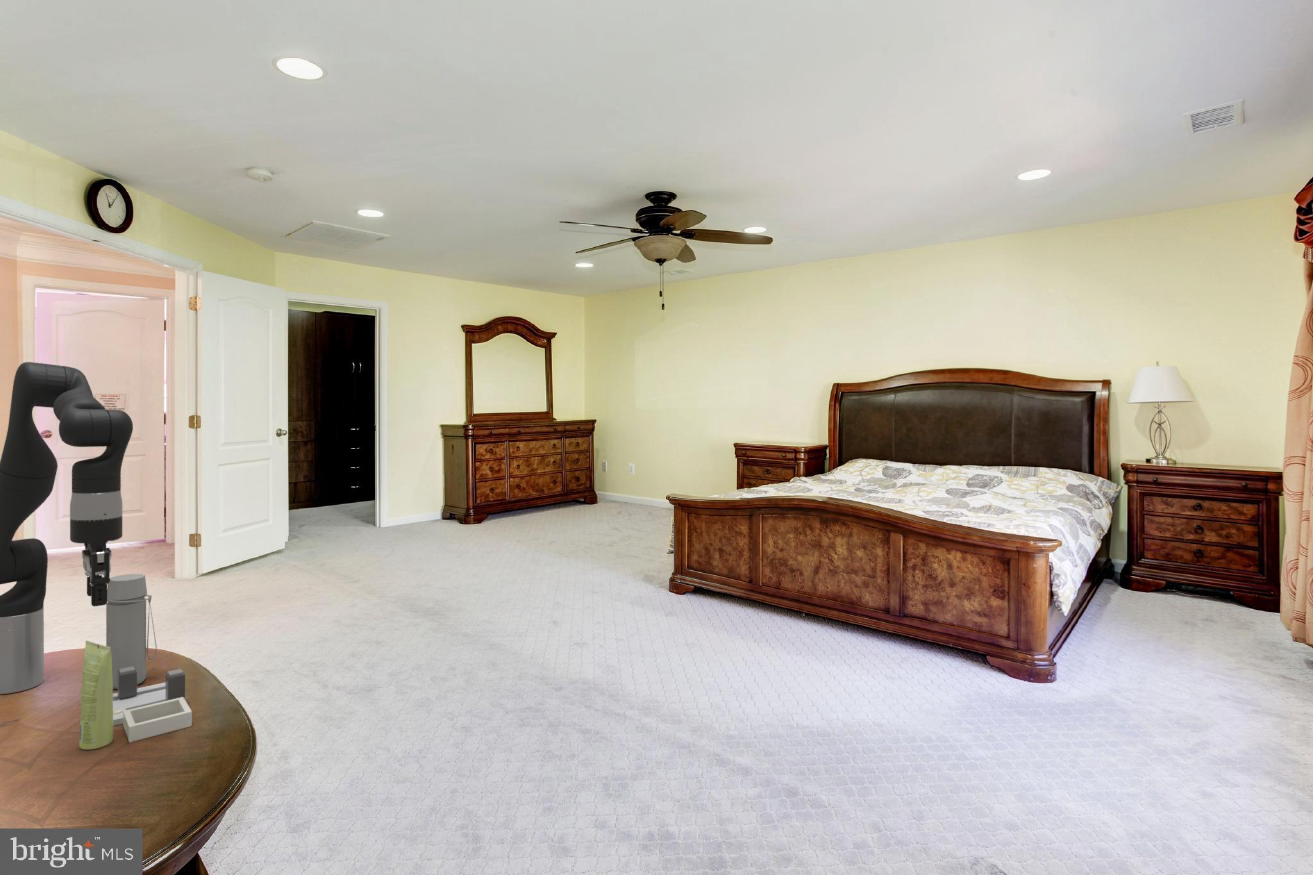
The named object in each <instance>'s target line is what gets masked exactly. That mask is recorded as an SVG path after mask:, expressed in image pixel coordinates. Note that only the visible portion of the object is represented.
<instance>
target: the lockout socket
mask: <svg viewBox="0 0 1313 875" xmlns="http://www.w3.org/2000/svg"><path fill="white" fill-rule="evenodd" d="M192 713H193V711H192V709H191V707H190V706H189V704H188V702H187V701H186V699H185V698H184V697H181V698H176V699H172V700H168V701H164V702H159V703H155V704H151V705H146V706H142V707H138V708H134V709H129V710H125V711H123V724H122V728H123V729H124V732H125V735H126V738H127V741H128V743H133V742H137V741H139V740H144V739H147V738H152V737H156V736H159V735H163V734H167V733H171V732H174V731H178V730H181V729H186V728H190V727H192V726H193V725H192V724H193V720H192V719H193V714H192Z"/></svg>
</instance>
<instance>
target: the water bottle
mask: <svg viewBox="0 0 1313 875" xmlns="http://www.w3.org/2000/svg"><path fill="white" fill-rule="evenodd" d="M109 578H110V581H109V583H108V585H107V604H106V605H105V606H106V608H105V620H106V621H105V622H106V623H105V624H106V626H105V628H106V629H105V631H106V633H105V637H106V640H105V641H106V642H105V643H106V644H105V646H107V647H111V658H112V683H113V690H117V672H118V671H119V669H122V668H127V667H132V666H134V668H135V669H136V671H137V686H138V685H141V684H142V683H143V682H144V681H145V679H146V678H147V658H148V659H149V660H150V661H151V660H155V659H156V656H157V649H158V648H157V646H158V645H157V640H156V633H155V626H154V625H152V629H153V635H154V645H155V649H154V650H155V652H154V655H153V656H154V657H150V656H149V632H150V615H151V617H153V614H152V611H150V613H148V616H147V603H148V606H149V610H152V607H151V605H152V604H151V600H152V597H153V595H149V594H148V590H147V582H146V575H145V574H143V573H126V574H120V575H116V576H112V577H109ZM147 619H148V620H147ZM151 623H152V624H154V620H153V618H151Z"/></svg>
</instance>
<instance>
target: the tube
mask: <svg viewBox="0 0 1313 875" xmlns="http://www.w3.org/2000/svg"><path fill="white" fill-rule="evenodd" d="M83 654H84V655H83V666H82V680H81V696H80V713H79V714H80V717H79V739H78V740H79V744H78V746H79V748H80V749H81V750H86V751H87V750H96V749H100V748H103V747H106V746H107V745H109V744H111V743H112V742H113V740H114V726H113V694H114V692H113V690H114V689H113V683H112V658H111V647H107V646H106V645H103V644H100V643H95V642H93V641H90V640H85V647H84V653H83Z"/></svg>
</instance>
